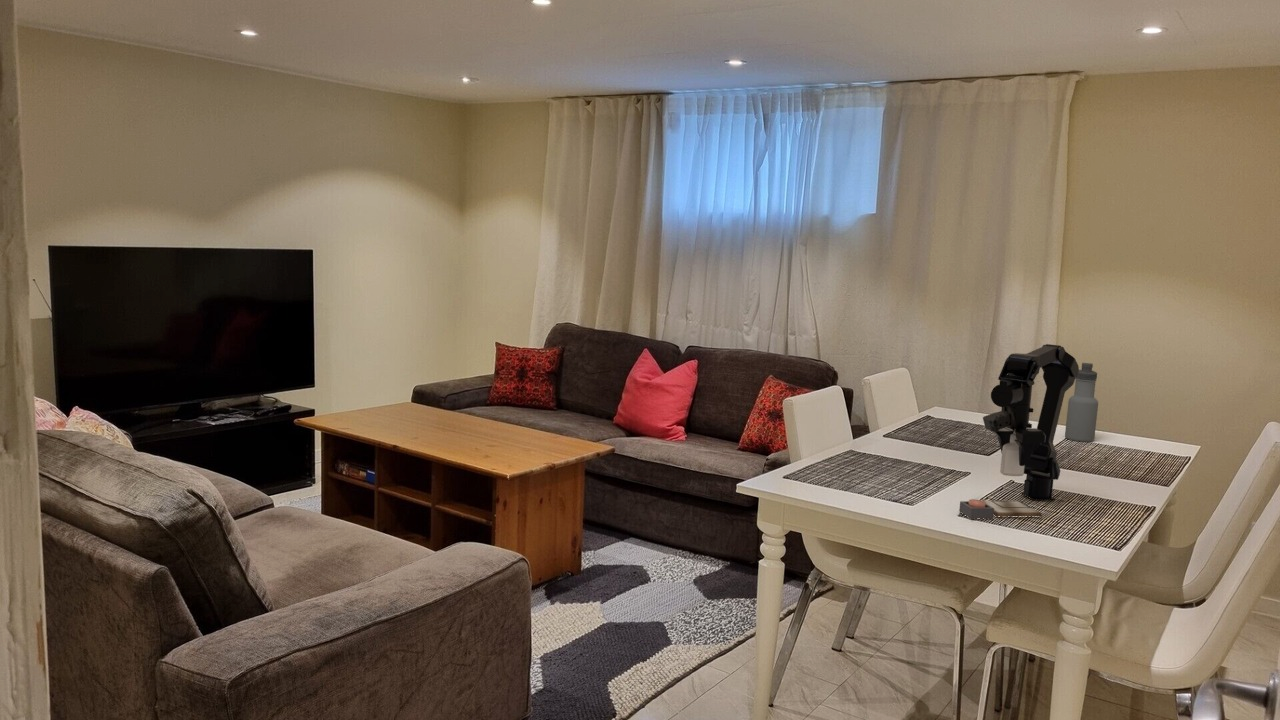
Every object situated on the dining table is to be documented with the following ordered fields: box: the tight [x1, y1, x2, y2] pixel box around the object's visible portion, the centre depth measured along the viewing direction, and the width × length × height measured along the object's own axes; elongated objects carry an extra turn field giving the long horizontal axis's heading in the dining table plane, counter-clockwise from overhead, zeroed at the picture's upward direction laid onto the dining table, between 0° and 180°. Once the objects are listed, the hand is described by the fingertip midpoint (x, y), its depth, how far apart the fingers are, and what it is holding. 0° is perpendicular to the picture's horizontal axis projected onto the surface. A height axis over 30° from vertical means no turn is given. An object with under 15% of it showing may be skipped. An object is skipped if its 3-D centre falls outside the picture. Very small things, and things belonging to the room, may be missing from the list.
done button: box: [968, 499, 985, 508], centre depth 233 cm, size 4×4×2 cm
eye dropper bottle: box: [999, 431, 1025, 477], centre depth 239 cm, size 4×6×12 cm
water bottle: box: [1064, 362, 1099, 443], centre depth 333 cm, size 10×10×28 cm
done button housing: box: [958, 500, 994, 520], centre depth 233 cm, size 6×6×3 cm
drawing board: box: [983, 500, 1042, 517], centre depth 239 cm, size 12×11×2 cm
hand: (1012, 461), depth 239 cm, fingers closed on eye dropper bottle, 8 cm apart
